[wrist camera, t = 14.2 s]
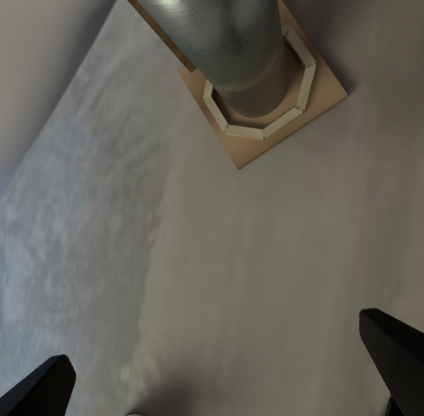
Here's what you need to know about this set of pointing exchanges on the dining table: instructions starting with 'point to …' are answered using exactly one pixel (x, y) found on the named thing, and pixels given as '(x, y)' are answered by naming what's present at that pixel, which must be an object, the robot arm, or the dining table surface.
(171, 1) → the metal tin
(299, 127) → the ledge stand
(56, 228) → the dining table surface
